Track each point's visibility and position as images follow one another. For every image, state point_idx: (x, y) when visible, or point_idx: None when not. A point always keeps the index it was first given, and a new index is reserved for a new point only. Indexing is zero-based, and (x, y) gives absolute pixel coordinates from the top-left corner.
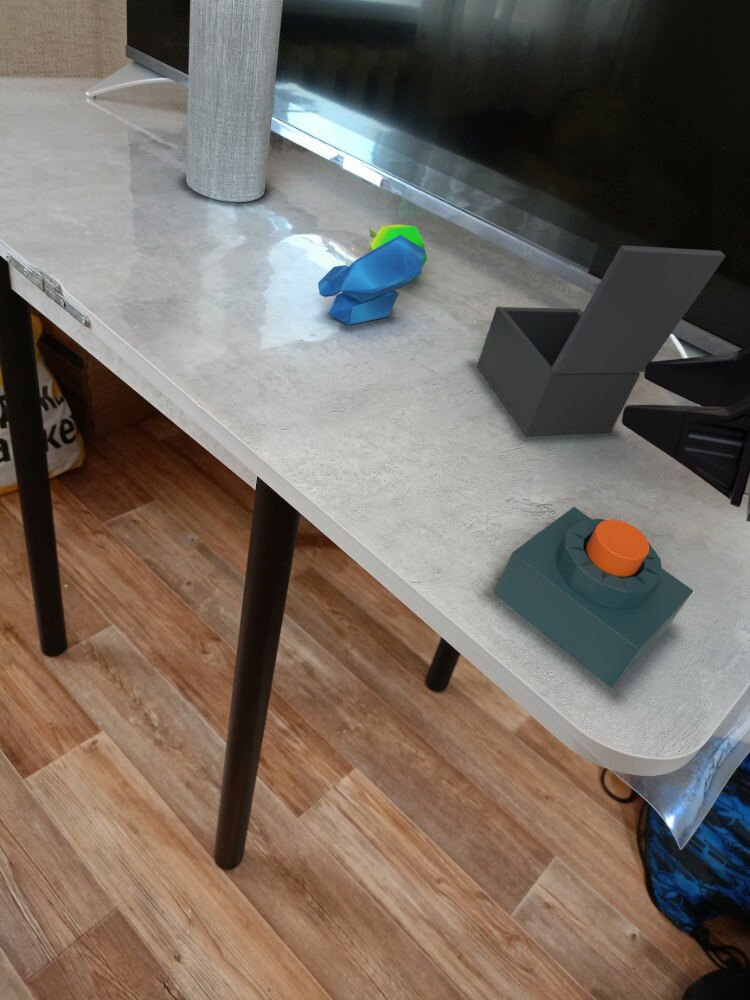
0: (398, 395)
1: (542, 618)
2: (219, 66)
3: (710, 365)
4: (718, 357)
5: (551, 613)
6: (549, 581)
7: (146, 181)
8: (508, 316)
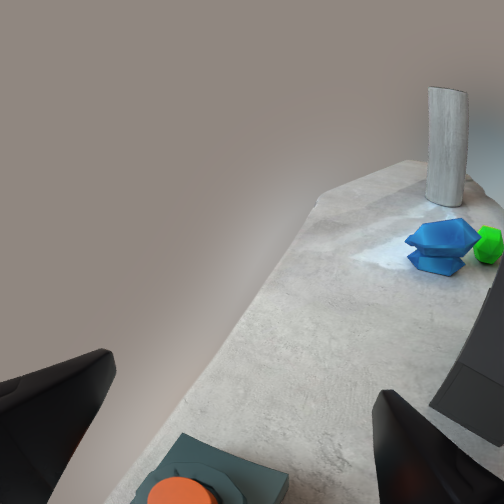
0: (384, 319)
1: None
2: (434, 138)
3: (429, 480)
4: (461, 476)
5: None
6: (159, 464)
7: (410, 189)
8: None
